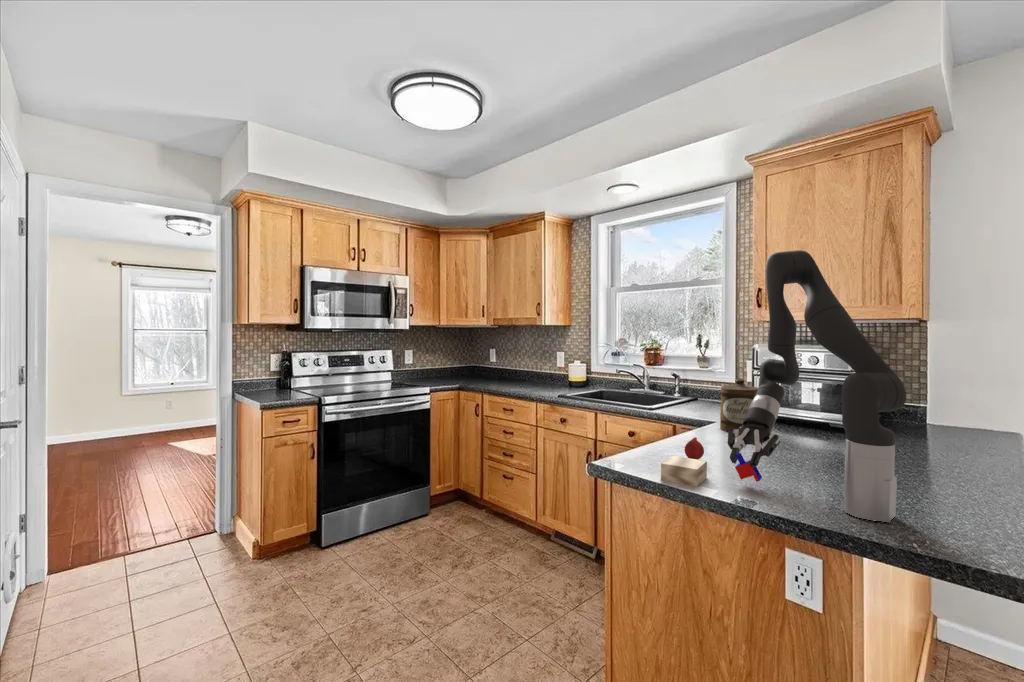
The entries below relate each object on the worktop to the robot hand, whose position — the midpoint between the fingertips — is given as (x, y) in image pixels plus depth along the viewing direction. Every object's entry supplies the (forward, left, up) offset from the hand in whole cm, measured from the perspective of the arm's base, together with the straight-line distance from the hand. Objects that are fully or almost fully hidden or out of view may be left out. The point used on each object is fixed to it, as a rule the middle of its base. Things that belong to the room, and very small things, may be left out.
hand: (742, 463), depth 132 cm
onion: (+21, -13, -7) cm, 26 cm away
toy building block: (-1, -2, -5) cm, 5 cm away
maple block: (+14, +5, -7) cm, 17 cm away
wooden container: (+34, -72, -7) cm, 80 cm away
